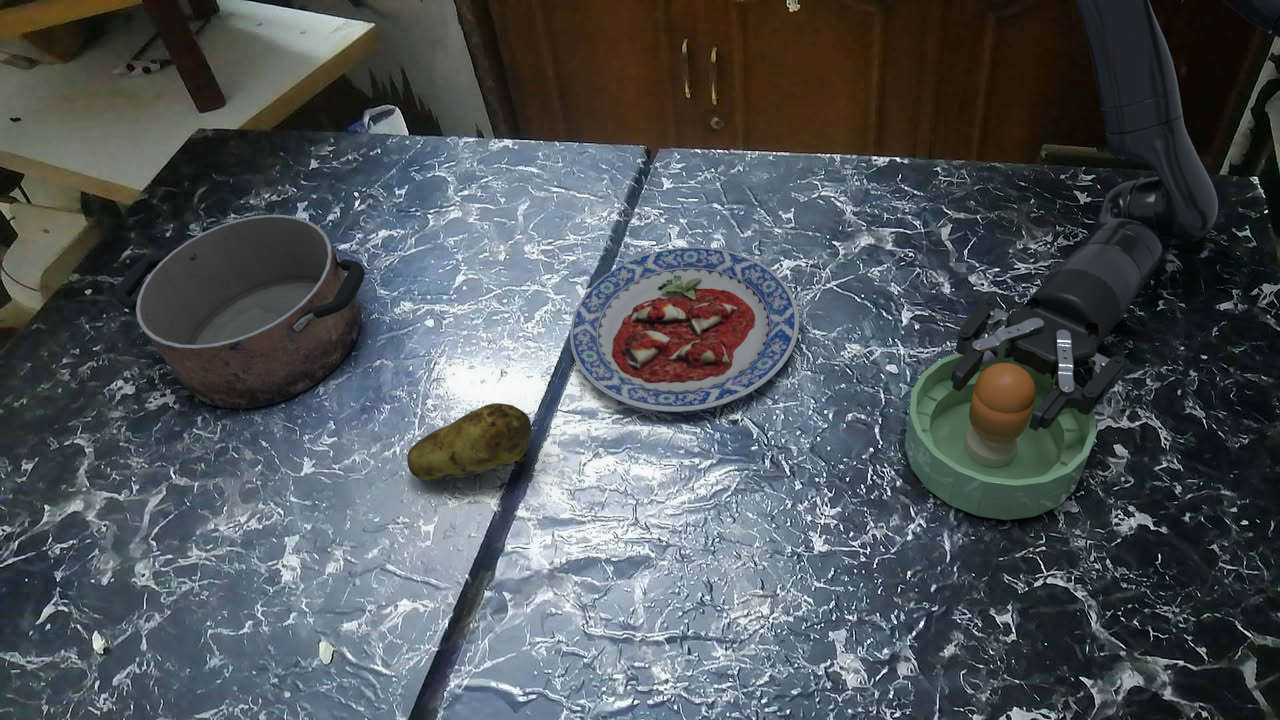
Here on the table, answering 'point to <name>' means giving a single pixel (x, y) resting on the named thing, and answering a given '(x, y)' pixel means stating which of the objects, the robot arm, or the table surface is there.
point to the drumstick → (999, 414)
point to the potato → (472, 444)
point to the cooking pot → (249, 309)
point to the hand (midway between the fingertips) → (994, 403)
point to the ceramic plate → (684, 329)
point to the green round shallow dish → (1002, 492)
